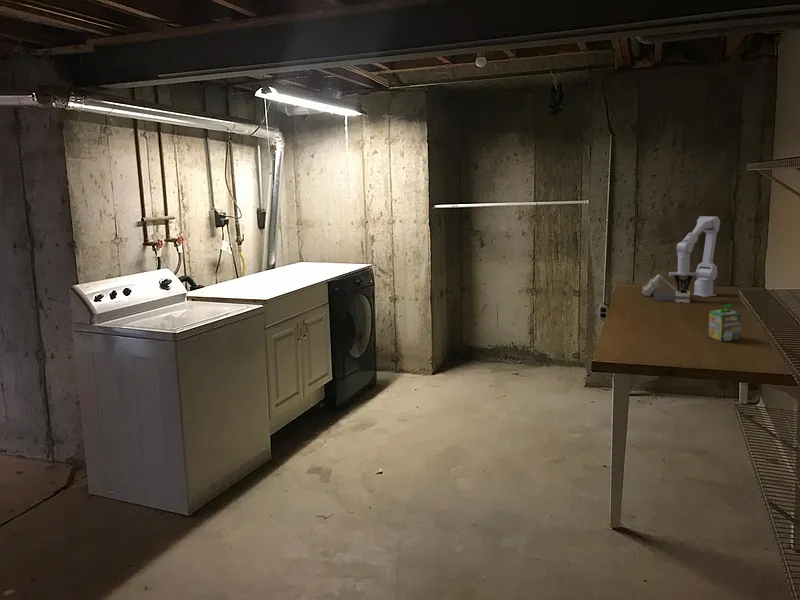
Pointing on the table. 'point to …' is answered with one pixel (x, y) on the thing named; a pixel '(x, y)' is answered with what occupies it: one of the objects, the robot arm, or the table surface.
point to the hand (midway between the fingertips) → (682, 289)
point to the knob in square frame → (672, 296)
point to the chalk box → (725, 324)
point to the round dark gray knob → (683, 285)
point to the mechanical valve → (655, 286)
